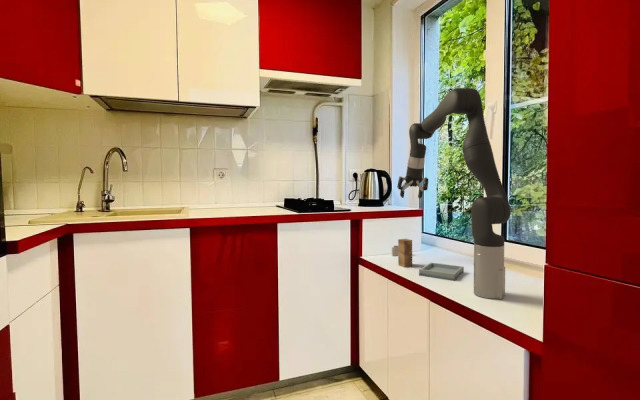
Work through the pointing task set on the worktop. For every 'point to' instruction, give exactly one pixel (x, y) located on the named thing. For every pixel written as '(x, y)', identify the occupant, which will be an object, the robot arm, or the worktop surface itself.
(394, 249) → the lighter
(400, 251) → the tall wooden block
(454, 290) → the worktop surface
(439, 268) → the tray
